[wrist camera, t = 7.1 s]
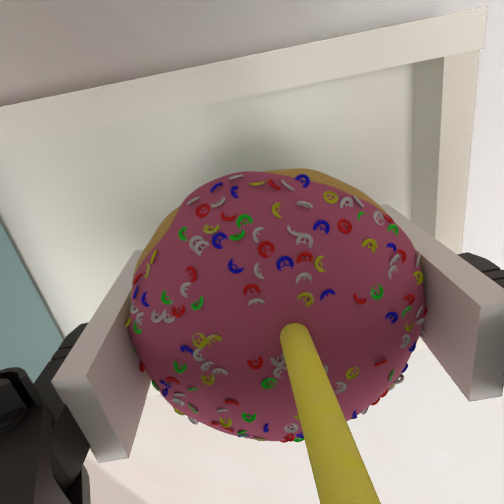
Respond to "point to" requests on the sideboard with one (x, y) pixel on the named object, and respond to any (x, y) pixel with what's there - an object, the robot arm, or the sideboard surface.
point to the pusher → (23, 317)
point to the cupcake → (280, 314)
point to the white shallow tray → (237, 146)
